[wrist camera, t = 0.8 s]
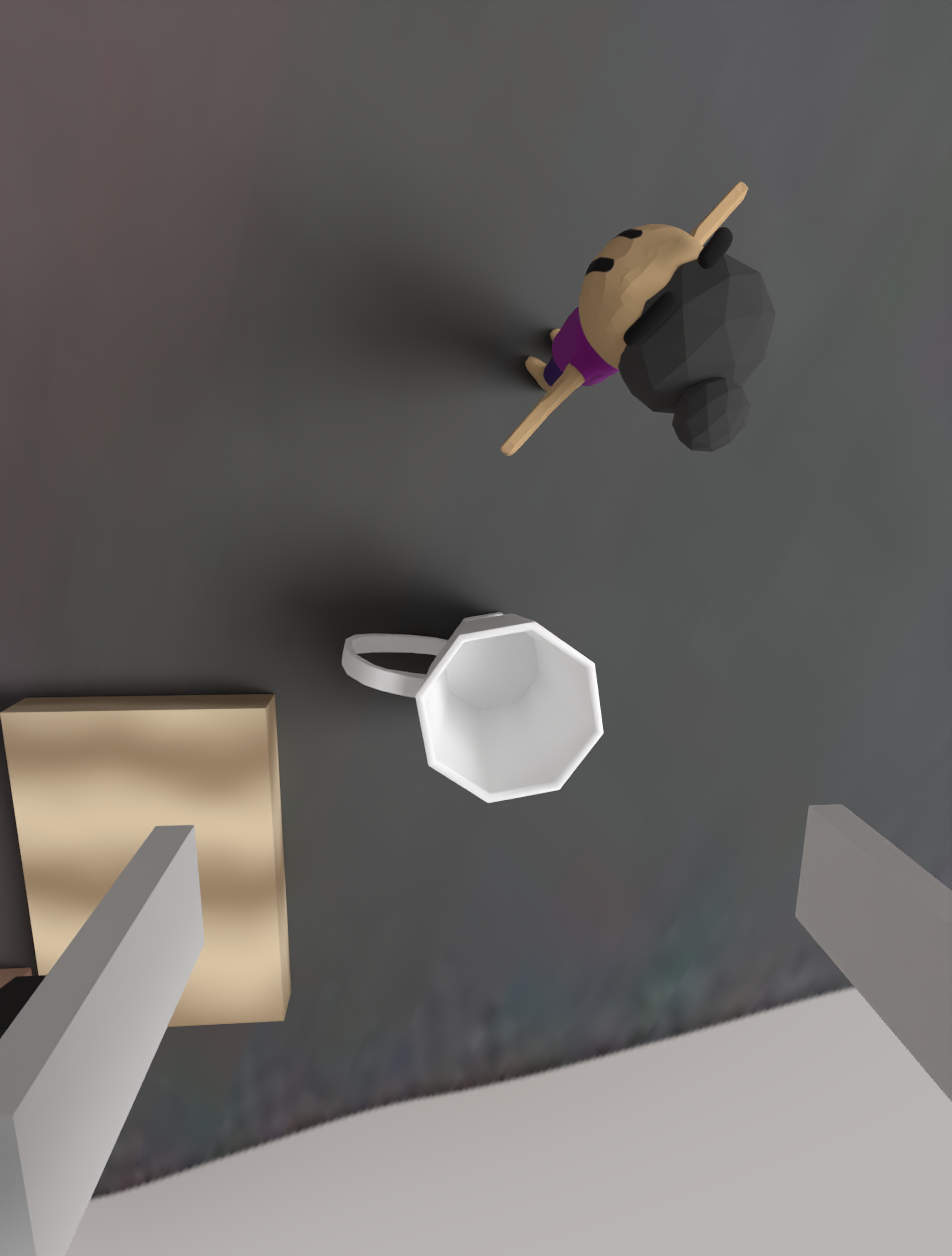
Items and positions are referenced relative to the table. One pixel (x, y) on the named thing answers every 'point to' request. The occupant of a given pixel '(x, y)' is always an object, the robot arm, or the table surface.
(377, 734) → the table surface
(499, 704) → the cup
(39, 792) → the oak board
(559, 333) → the toy
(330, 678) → the table surface
